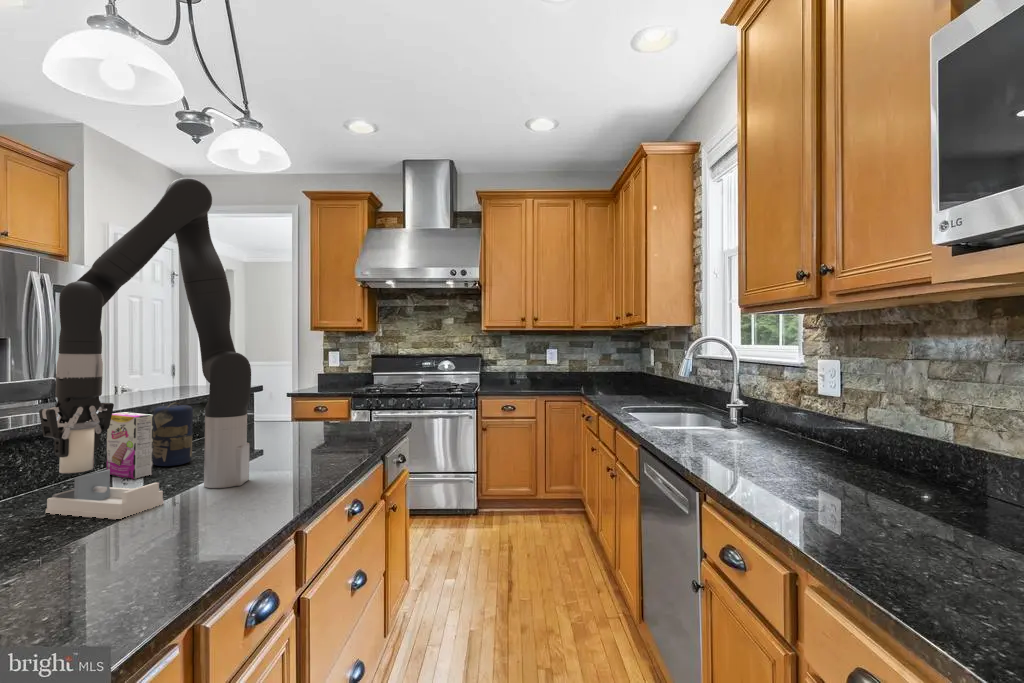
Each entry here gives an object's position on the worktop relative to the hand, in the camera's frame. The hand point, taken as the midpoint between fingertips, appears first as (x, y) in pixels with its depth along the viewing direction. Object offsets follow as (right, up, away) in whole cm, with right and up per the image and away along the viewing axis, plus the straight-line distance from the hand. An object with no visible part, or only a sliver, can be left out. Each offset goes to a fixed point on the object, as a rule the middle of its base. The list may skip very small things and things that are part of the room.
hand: (77, 453), depth 106 cm
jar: (0, -3, 0) cm, 4 cm away
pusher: (+5, -10, -1) cm, 11 cm away
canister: (-6, -12, +38) cm, 40 cm away
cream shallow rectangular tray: (+7, -11, -1) cm, 14 cm away
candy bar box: (-9, -12, +25) cm, 29 cm away
